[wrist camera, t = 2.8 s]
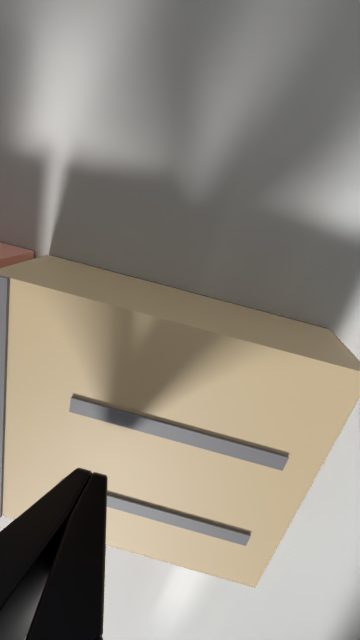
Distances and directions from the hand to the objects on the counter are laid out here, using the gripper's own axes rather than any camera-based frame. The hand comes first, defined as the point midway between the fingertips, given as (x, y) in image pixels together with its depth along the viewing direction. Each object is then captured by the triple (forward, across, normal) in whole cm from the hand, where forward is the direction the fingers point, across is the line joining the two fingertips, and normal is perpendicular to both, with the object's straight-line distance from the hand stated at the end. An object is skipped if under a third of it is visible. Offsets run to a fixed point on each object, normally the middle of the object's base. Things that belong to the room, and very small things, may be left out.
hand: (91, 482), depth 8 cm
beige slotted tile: (+4, -1, 0) cm, 4 cm away
